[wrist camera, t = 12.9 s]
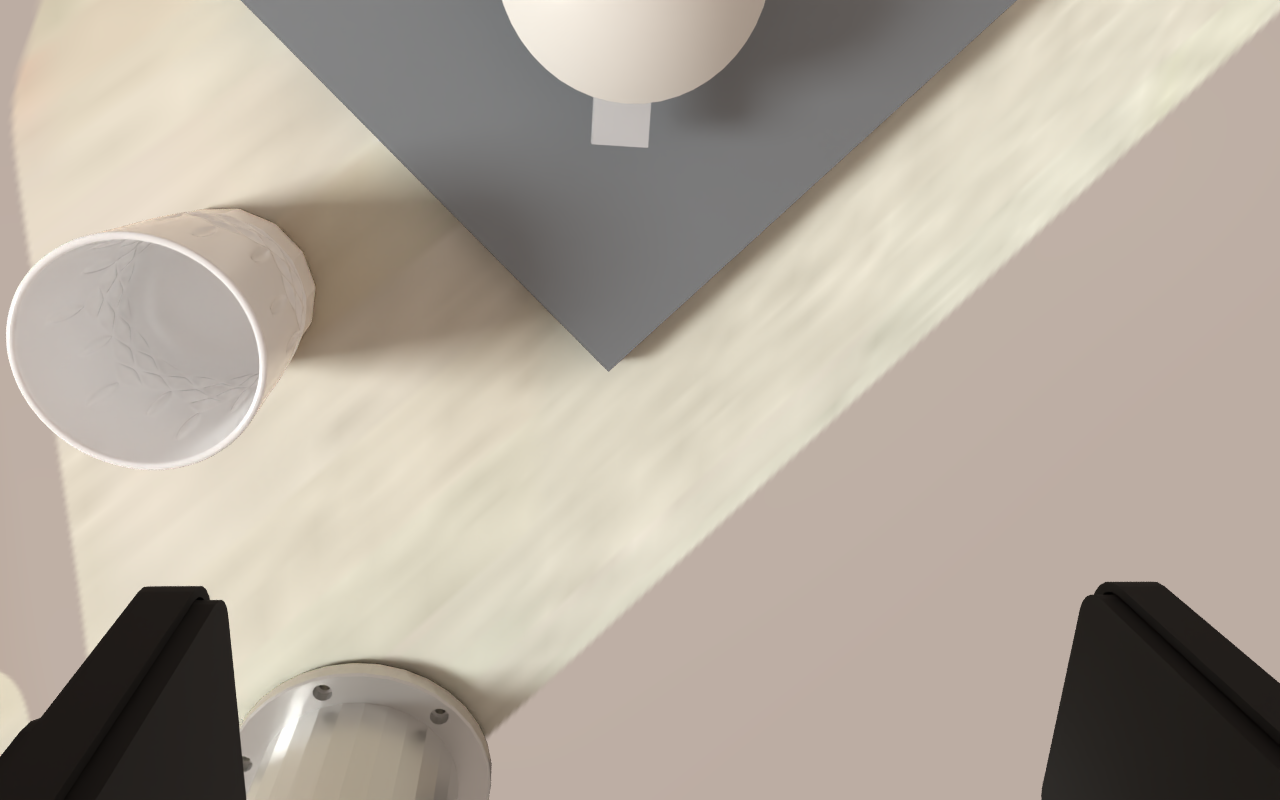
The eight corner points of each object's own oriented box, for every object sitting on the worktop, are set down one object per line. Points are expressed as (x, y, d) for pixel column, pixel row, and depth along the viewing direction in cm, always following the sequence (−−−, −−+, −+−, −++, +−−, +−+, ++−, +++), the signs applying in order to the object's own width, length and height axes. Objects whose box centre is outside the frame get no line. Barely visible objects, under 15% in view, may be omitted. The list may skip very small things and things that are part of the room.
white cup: (357, 353, 42) (301, 436, 33) (177, 400, 42) (70, 496, 33) (291, 170, 39) (211, 203, 30) (100, 220, 39) (-41, 268, 30)
